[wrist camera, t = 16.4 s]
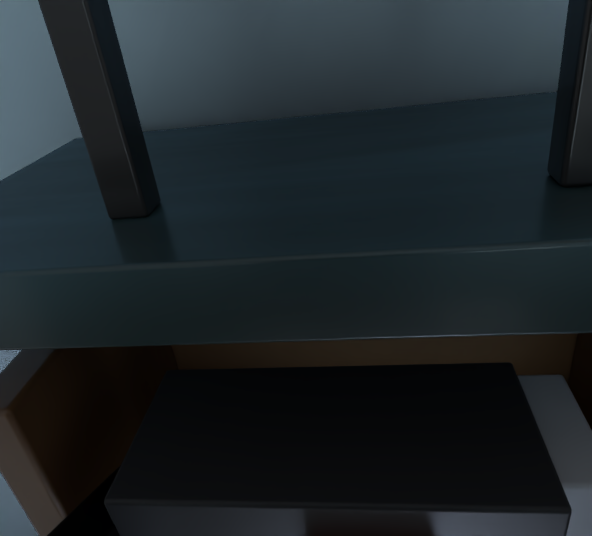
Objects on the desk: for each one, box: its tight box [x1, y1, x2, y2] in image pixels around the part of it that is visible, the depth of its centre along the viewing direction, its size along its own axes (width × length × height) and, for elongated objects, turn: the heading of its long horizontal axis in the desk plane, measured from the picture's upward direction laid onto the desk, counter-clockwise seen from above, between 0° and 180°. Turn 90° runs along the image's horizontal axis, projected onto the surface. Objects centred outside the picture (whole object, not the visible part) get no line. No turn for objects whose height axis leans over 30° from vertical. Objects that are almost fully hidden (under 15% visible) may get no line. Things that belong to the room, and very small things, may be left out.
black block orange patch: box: [104, 362, 592, 536], centre depth 8 cm, size 7×3×3 cm, turn 97°
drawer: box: [0, 0, 592, 536], centre depth 11 cm, size 19×13×7 cm
